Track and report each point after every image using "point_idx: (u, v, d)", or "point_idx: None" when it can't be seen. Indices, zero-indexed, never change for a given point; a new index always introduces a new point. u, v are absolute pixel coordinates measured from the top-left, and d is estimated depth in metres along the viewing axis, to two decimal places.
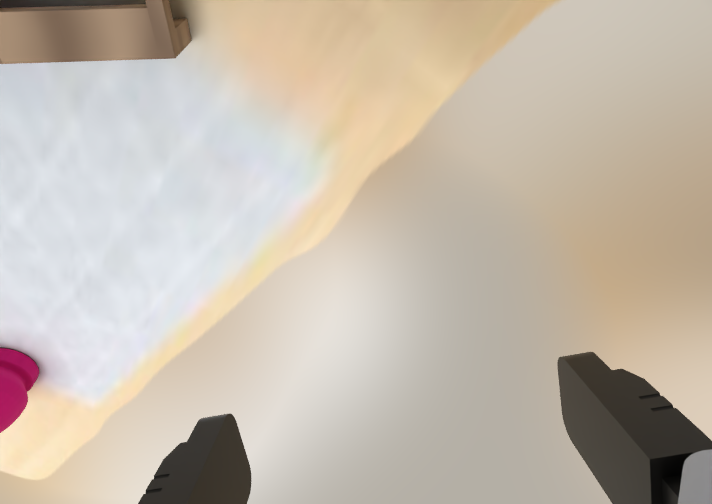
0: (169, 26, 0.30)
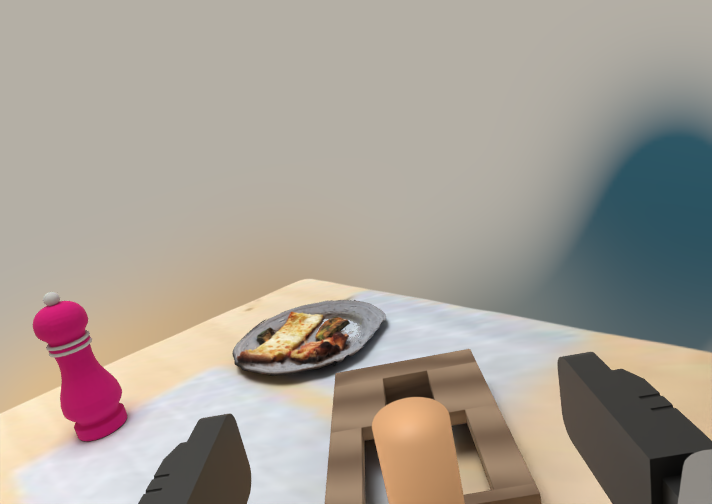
0: None
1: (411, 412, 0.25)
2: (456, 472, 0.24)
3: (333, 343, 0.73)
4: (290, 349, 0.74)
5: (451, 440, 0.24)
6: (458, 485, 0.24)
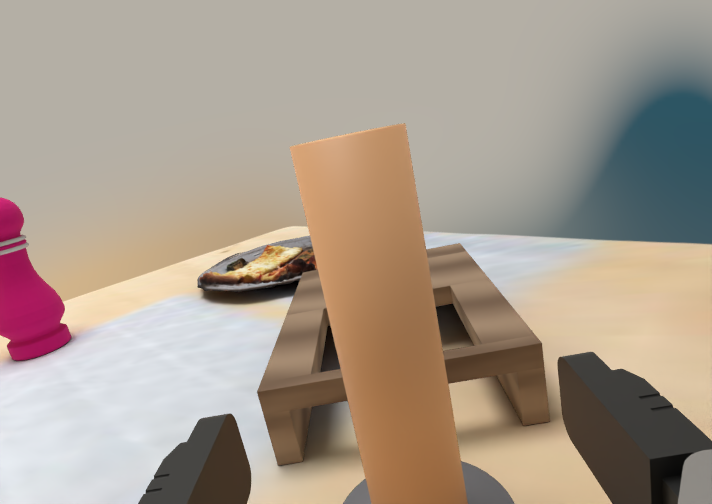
0: (290, 391, 0.27)
1: None
2: (415, 210, 0.16)
3: None
4: (261, 274, 0.66)
5: (407, 154, 0.16)
6: (418, 233, 0.16)
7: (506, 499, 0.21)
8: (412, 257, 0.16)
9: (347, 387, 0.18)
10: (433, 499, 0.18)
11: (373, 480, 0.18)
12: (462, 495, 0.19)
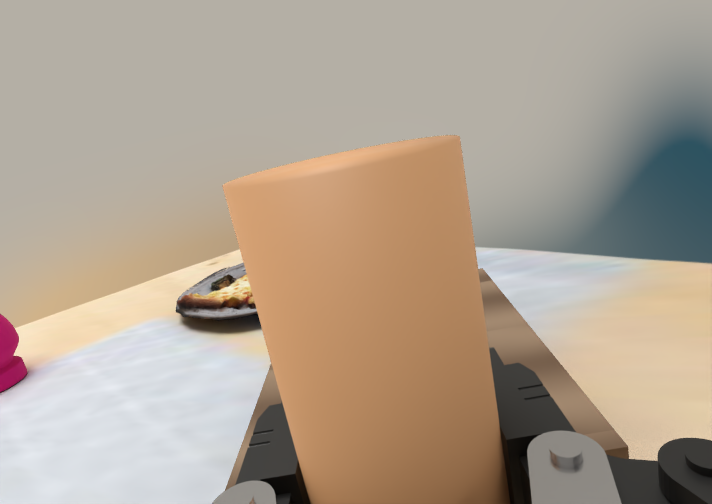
0: None
1: (348, 155, 0.09)
2: (479, 314, 0.08)
3: None
4: (249, 295, 0.58)
5: (465, 202, 0.07)
6: (485, 356, 0.08)
7: None
8: (476, 411, 0.08)
9: None
10: None
11: None
12: None
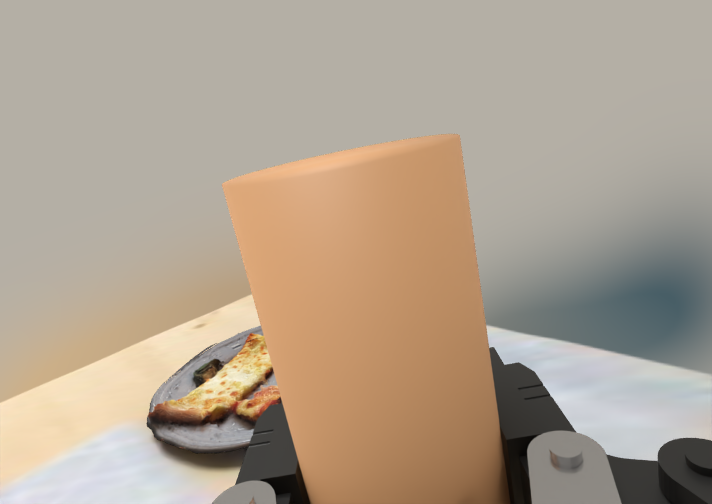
0: None
1: (348, 153, 0.09)
2: (479, 312, 0.08)
3: None
4: (238, 398, 0.47)
5: (465, 201, 0.07)
6: (484, 355, 0.08)
7: None
8: (475, 410, 0.08)
9: None
10: None
11: None
12: None
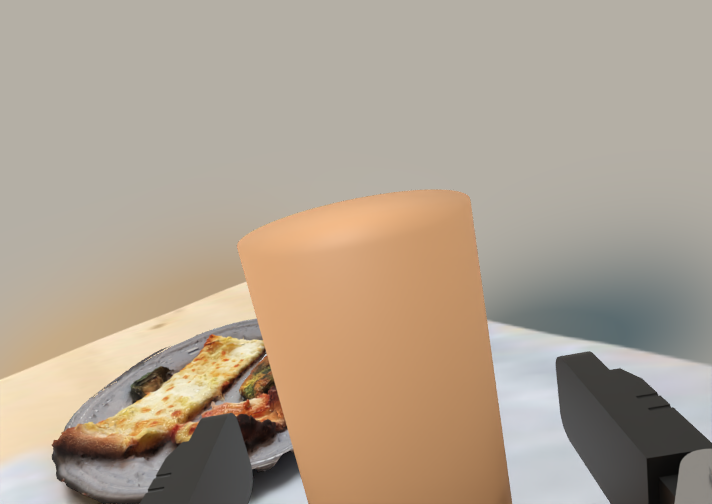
0: None
1: (359, 209, 0.09)
2: (489, 370, 0.08)
3: (268, 409, 0.34)
4: (180, 419, 0.36)
5: (475, 264, 0.08)
6: (494, 411, 0.08)
7: None
8: (485, 467, 0.08)
9: None
10: None
11: None
12: None
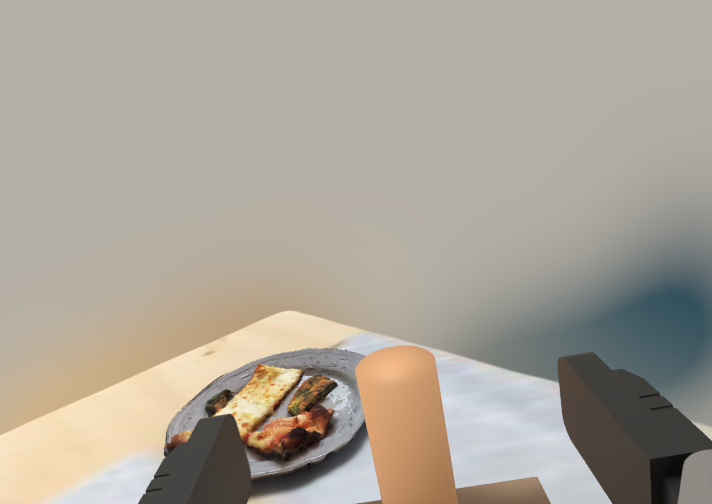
0: None
1: (396, 358, 0.24)
2: (441, 419, 0.23)
3: (311, 423, 0.50)
4: (249, 429, 0.51)
5: (436, 384, 0.23)
6: (443, 433, 0.23)
7: None
8: (439, 452, 0.23)
9: None
10: None
11: None
12: None
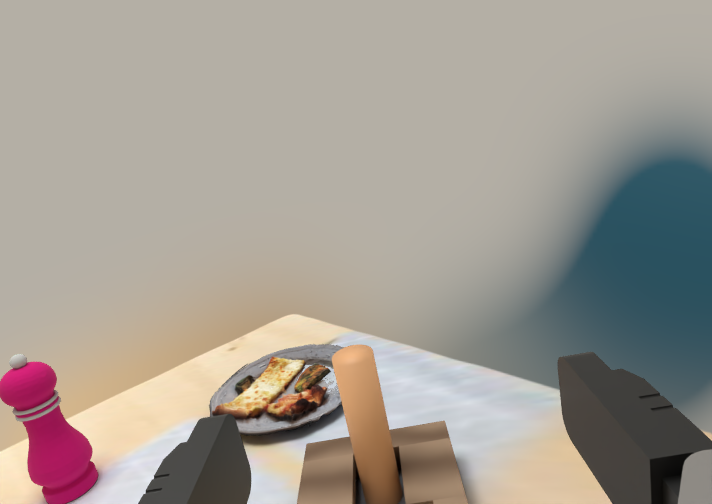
0: None
1: (353, 351, 0.46)
2: (376, 382, 0.45)
3: (311, 397, 0.71)
4: (267, 402, 0.73)
5: (373, 365, 0.45)
6: (377, 390, 0.45)
7: None
8: (375, 400, 0.45)
9: (352, 443, 0.47)
10: (385, 485, 0.47)
11: (362, 478, 0.47)
12: (397, 484, 0.48)
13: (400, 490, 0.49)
